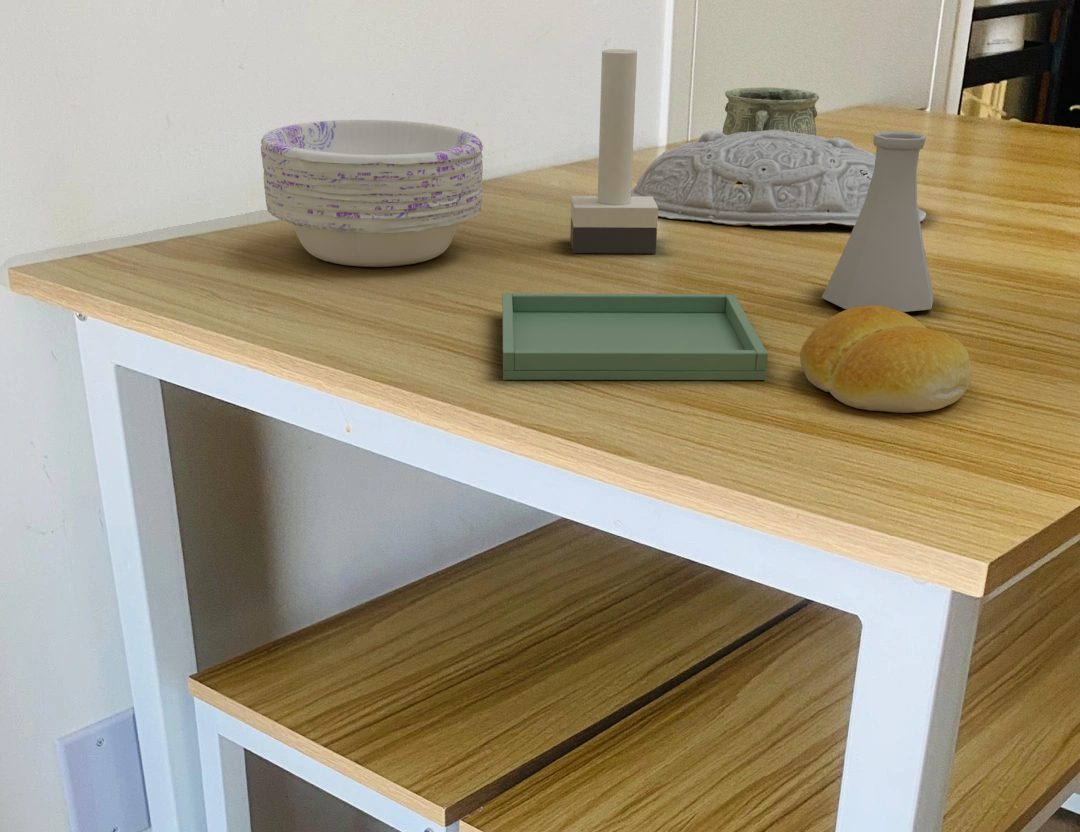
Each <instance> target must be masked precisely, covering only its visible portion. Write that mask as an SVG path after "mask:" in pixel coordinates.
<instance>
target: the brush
mask: <svg viewBox="0 0 1080 832" xmlns="http://www.w3.org/2000/svg"><path fill="white" fill-rule="evenodd" d="M637 62H638V51H637V50H634V49H621V48H612V49H609V48H608V49H603V50H601V69H600V70H601V71H600V73H601V74H600V101H599V102H600V104H599V105H600V106H599V107H600V108H599V136H598V137H599V139H598V167H597V168H598V170H597V171H598V173H597V195H591V196H590V195H571V197H570V235H569V236H570V237H569V238H570V239H569V240H570V245H571V250H572V253H573V254H601V255H603V254H609V255H610V254H611V255H612V254H613V255H615V254H619V255H620V254H623V255H625V254H627V255H629V254H635V255H641V254H643V255H654V254H655V255H656V252H657V238H658V237H657V236H658V222H659V221H658V220H659V219H658V218H659V216H658V207H657V205H656V203H655V201H654V198H653V197H650V196H631V190H632V181H633V180H632V179H633V158H634V156H633V155H634V135H635V134H634V133H635V132H634V131H635V114H636V113H635V111H636V110H635V109H636V105H635V104H636V90H637V89H636V88H637V86H636V85H637Z"/></svg>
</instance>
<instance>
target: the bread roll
mask: <svg viewBox="0 0 1080 832" xmlns="http://www.w3.org/2000/svg"><path fill="white" fill-rule="evenodd" d="M799 361H800V365H801V368H802V371H803V373H804V375H805V377H806V379H807V380H808V382H810V383H811V384H812V385H813V386H814V387H816V388H817V389H819V390H821V391H823V392H826V393H830V394H831V396H833V398H834V399H836V400H837V401H839V402H840V403H842V404H843V405H846V406H848V407H851V408H855V409H859V410H866V411H872V412H873V411H875V412H888V413H900V414H912V413H913V414H915V413H926V412H930V411H936V410H939V409H943V408H945V407H947V406H950V405H952V404H954V403H956V402H957V401H958V400H960V398H961V397H962V396H963V395H965V393H966V392H967V390H968V388H969V386H970V383H971V376H972V362H971V360H970V354H969V352H968V350H967V348H966V346H965V345H964V344H963V343H962V342H961V340H959V339H957V338H955V337H953V336H951V335H948V334H946V333H944V332H941V331H938V330H934V329H930V328H927V327H926V326H924V324H922V322H920V321H919V320H918V319H916V318H914V317H912V316H911V315H909V314H908V313H906V312H902V311H899V310H896V309H893V308H890V307H885V306H878V305H872V306H859V307H854V308H850V309H844V310H842V311H840V312H838V313H836V314H835V315H833V316H832V317H829V318H828V319H826V320H825V322H823V323H822V324H820V325H818V326H817V327H816V328H815V329H813V330H812V331H811V333H810V334H809V336H807V338H806V339H805V341H804V342H803V344H802V346H801V349H800V352H799Z"/></svg>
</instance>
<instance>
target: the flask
mask: <svg viewBox="0 0 1080 832" xmlns="http://www.w3.org/2000/svg"><path fill="white" fill-rule="evenodd" d="M926 140H927V135H926V134H921V133H917V132H913V131H897V130H892V131H891V130H890V131H876V132H874V134H873V138H872V142H873V146H874V147H876V148H875V149H876V152H875V155H876V159H875V166H874V172H873V176H872V179H871V182H870V186H869V189H868V193H867V196H866V200H865V203H864V205H863V207H862V210H861V212H860V214H859V217H858V219H857V221H856V224H855V226H853V228H852V230H851V233H850V236H849V238H848V239H847V242H846V244H845V247H844V249H843V250H842V253H841V255H840V257H839V259H838V261H837V263H836V266H835V268H834V269H833V272H832V274H831V276H830V278H829V280H828V283H827V285H826V288H825V290H824V291H823V294H822V296H821V299H823V300H826V301H828V302H830V303H832V304H833V305H836V306H838V307H840V308H841V309H844V310H847V309H850V308H854V307H859V306H872V305H878V306H885V307H890V308H893V309H896V310H899V311H902V312H904V313H906V312H916V311H928V310H932V308H933V303H934V291H933V286H932V279H931V276H930V275H931V274H930V269H929V265H928V260H927V254H926V249H925V243H924V238H923V237H924V236H923V231H922V225H921V222H920V218H919V212H918V209H919V206H918V191H917V190H918V181H917V179H918V175H917V174H918V173H917V170H918V163H919V156H920V151H921V150H922V149H923V148H924V147H925V144H926V142H927V141H926Z"/></svg>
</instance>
